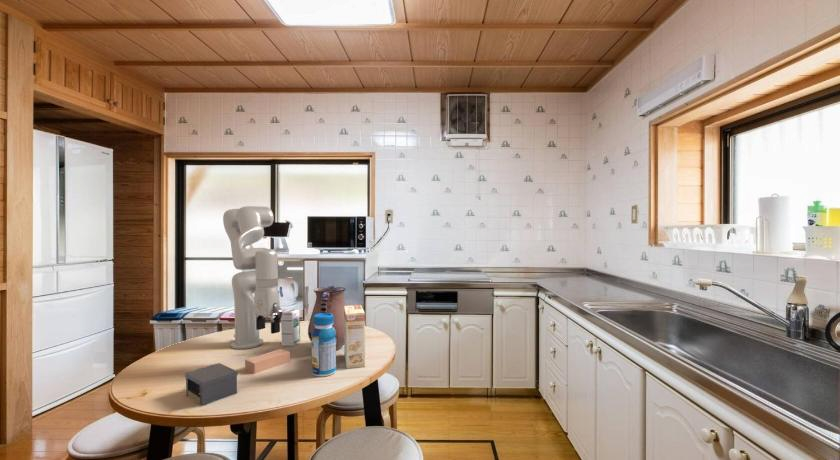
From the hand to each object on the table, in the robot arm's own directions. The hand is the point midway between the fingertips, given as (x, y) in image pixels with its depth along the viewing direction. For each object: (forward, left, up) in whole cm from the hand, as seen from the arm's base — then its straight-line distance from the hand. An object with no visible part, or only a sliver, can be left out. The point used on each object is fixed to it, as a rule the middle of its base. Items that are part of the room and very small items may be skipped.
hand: (268, 330), depth 135 cm
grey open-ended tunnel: (+7, -22, -13) cm, 26 cm away
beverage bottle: (+21, +8, -13) cm, 26 cm away
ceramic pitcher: (+3, +25, -13) cm, 29 cm away
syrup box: (-17, +20, -13) cm, 29 cm away
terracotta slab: (-1, 0, -13) cm, 13 cm away
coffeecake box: (+21, +22, -13) cm, 33 cm away
